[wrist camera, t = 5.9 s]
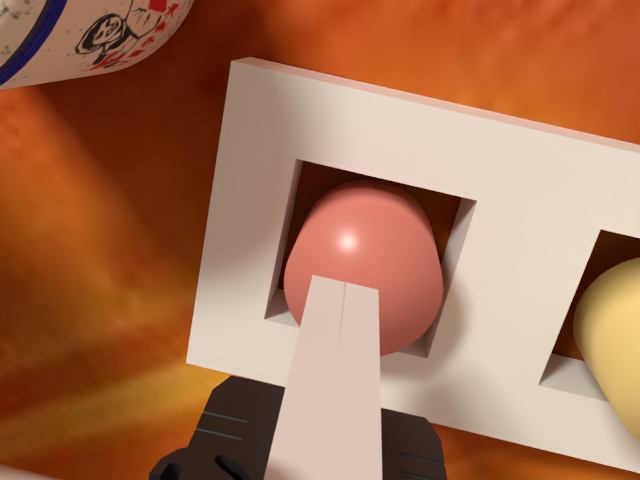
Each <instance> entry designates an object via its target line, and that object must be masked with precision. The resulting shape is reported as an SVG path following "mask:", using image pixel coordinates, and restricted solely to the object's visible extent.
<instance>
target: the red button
mask: <svg viewBox="0 0 640 480" xmlns="http://www.w3.org/2000/svg"><path fill="white" fill-rule="evenodd" d="M312 275H316V276H320V277H325V278H329V279H334V280H338V281H342V282H347V283H351V284H356V285H360V286H364V287H369V288H373V289H378V294H379V343H380V356H384V355H388V354H391V353H395V352H397V351H399V350H402V349H404V348H405V347H407V346H409V345H411V344H412V343H413V342H415V341H416V340H417V339H419V338H420V337H421V336H422V335H423V334H424V333H425V332H426V331H427V329H428V328H429V327H430V325H431V324H432V323H433V321H434V319H435V317H436V315H437V313H438V310H439V308H440V305H441V301H442V295H443V277H442V272H441V267H440V263H439V258H438V254H437V249H436V245H435V240H434V236H433V231H432V227H431V224H430V221H429V218H428V217H427V215H426V213H425V211H424V209H423V208H422V207H421V205H420V204H419V203H418V202H417V201H416V200H415V199H414V198H413V197H412V196H411V195H410V194H409V193H407V192H406V191H404V190H403V189H401V188H399V187H397V186H395V185H393V184H390V183H387V182H383V181H378V180H355V181H350V182H346V183H344V184H341V185H338V186H336V187H334V188H333V189H331V190H329V191H328V192H326V193H325V194H324V195H323V196H322V197H320V198H319V199H318V200H317V202H316V203H315V204H314V205H313V206H312V208H311V210H310V211H309V213H308V215H307V217H306V219H305V222H304V224H303V226H302V229H301V231H300V233H299V236H298V238H297V240H296V243H295V245H294V247H293V250H292V252H291V254H290V257H289V259H288V262H287V265H286V269H285V275H284V291H285V298H286V301H287V304H288V307H289V310H290V312H291V314H292V316H293V318H294V319H295V321H296V323H297V324H298V325H299V326H300V325H301V321H302V317H303V313H304V309H305V305H306V300H307V296H308V292H309V288H310V284H311V280H312Z"/></svg>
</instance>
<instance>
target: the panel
mask: <svg viewBox="0 0 640 480" xmlns="http://www.w3.org/2000/svg"><path fill="white" fill-rule="evenodd" d="M303 160H304V161H308V162H312V163H317V164H321V165H325V166H330V167H334V168H338V169H342V170H347V171H351V172H355V173H360V174H364V175H368V176H373V177H377V178H381V179H386V180H390V181H394V182H399V183H403V184H407V185H412V186H416V187H420V188H425V189H429V190H433V191H437V192H442V193H446V194H450V195H455V196H459V197H461V200H460V204H459V207H458V210H457V214H456V217H455V220H454V223H453V227H452V230H451V233H450V236H449V240H448V243H447V246H446V249H445V253H444V256H443V259H442V263H441V266H440V267H441V272H442V277H443V295H442V301H441V305H440V308H439V310H438V313H437V315H436V317H435V319H434V321H433V323H432V324H431V325H430V327H429V328H428V329H427V331H426V332H425V333H424V334H423V335H422V336H421V337H420V338H419V339H417V340H416V341H415V342H413V343H412V344H411V345H409V346H407V347H405V348H404V349H402V350H399V351H397V352H395V353H391V354H388V355H384V356H380V392H381V408H385V409H389V410H394V411H398V412H403V413H407V414H411V415H416V416H420V417H424V418H426V419H427V420H428V421H429V422H431V423H435V424H439V425H443V426H448V427H452V428H456V429H460V430H464V431H468V432H472V433H476V434H480V435H485V436H489V437H493V438H497V439H501V440H505V441H509V442H513V443H518V444H522V445H526V446H530V447H534V448H538V449H542V450H546V451H550V452H555V453H559V454H563V455H567V456H571V457H575V458H579V459H583V460H588V461H592V462H596V463H600V464H604V465H608V466H612V467H616V468H620V469H625V470H629V471H633V472H637V473H640V441H638V440H637V439H636V438H635V437H633V436H632V435H631V434H630V433H629V432H628V431H627V429H626V428H625V427H624V425H623V424H622V422H621V421H620V419H619V418H618V416H617V414H616V413H615V411H614V409H613V408H612V406H611V404H610V402H609V401H608V399H607V397H606V396H605V394H604V392H603V391H602V389H601V387H600V386H599V384H598V382H597V381H596V379H595V377H594V376H593V374H592V372H591V370H590V369H589V367H588V365H587V364H586V362H585V361H582V360H578V359H573V358H569V357H565V356H561V355H557V354H552V353H551V352H552V349H553V347H554V344H555V342H556V339H557V337H558V334H559V332H560V329H561V327H562V324H563V322H564V319H565V317H566V314H567V312H568V309H569V307H570V304H571V302H572V299H573V297H574V294H575V292H576V289H577V287H578V284H579V282H580V279H581V277H582V274H583V272H584V269H585V267H586V264H587V262H588V259H589V257H590V254H591V252H592V249H593V247H594V244H595V242H596V239H597V237H598V235H599V232H600V230H601V229H602V230H606V231H610V232H615V233H619V234H623V235H628V236H632V237H636V238H640V145H637V144H633V143H628V142H624V141H619V140H615V139H611V138H606V137H602V136H597V135H593V134H589V133H584V132H580V131H575V130H571V129H567V128H562V127H558V126H553V125H549V124H545V123H540V122H536V121H531V120H527V119H523V118H518V117H514V116H509V115H505V114H501V113H496V112H492V111H487V110H483V109H479V108H474V107H470V106H465V105H461V104H456V103H452V102H448V101H443V100H439V99H434V98H430V97H426V96H421V95H417V94H412V93H408V92H404V91H399V90H395V89H390V88H386V87H382V86H377V85H373V84H368V83H364V82H360V81H355V80H351V79H346V78H342V77H338V76H333V75H329V74H324V73H320V72H316V71H311V70H307V69H302V68H298V67H293V66H289V65H285V64H280V63H276V62H271V61H267V60H263V59H258V58H254V57H247V58H242V59H237V60H233V61H231V66H230V73H229V80H228V86H227V93H226V100H225V106H224V113H223V120H222V126H221V133H220V140H219V146H218V153H217V160H216V166H215V173H214V180H213V186H212V193H211V200H210V206H209V213H208V220H207V226H206V233H205V240H204V246H203V253H202V260H201V266H200V273H199V280H198V286H197V293H196V299H195V306H194V313H193V319H192V326H191V333H190V339H189V346H188V353H187V359H186V363H188V364H192V365H197V366H201V367H205V368H209V369H213V370H217V371H221V372H225V373H229V374H234V375H238V376H242V377H246V378H250V379H254V380H258V381H262V382H266V383H271V384H275V385H279V386H283V387H286V384H287V380H288V376H289V371H290V367H291V363H292V359H293V355H294V350H295V346H296V342H297V338H298V334H299V330H300V326H299V325H298V324H297V323H296V321H295V319H294V318H293V316H292V314H291V312H290V310H289V307H288V304H287V301H286V298H285V291H284V289H279V288H277V287H278V282H279V277H280V272H281V267H282V262H283V257H284V252H285V247H286V242H287V238H288V233H289V228H290V223H291V218H292V213H293V208H294V203H295V198H296V193H297V188H298V183H299V178H300V173H301V169H302V164H303Z"/></svg>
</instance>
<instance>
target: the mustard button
mask: <svg viewBox="0 0 640 480" xmlns="http://www.w3.org/2000/svg"><path fill="white" fill-rule="evenodd" d="M573 335H574V339H575V343H576V346H577V348H578V350H579V352H580V354H581V355H582V357H583V359H584V360H585V362H586V364H587V365H588V367H589V369H590V370H591V372H592V374H593V376H594V377H595V379H596V381H597V382H598V384H599V386H600V387H601V389H602V391H603V392H604V394H605V396H606V397H607V399H608V401H609V402H610V404H611V406H612V408H613V409H614V411H615V413H616V414H617V416H618V418H619V419H620V421H621V422H622V424H623V425H624V427H625V428H626V429H627V431H628V432H629V433H630V434H631V435H632V436H633V437H635V438H636V439H637V440H638V441H640V258H635V259H631V260H628V261H625V262H623V263H620V264H618V265H616V266H614V267H612V268H610V269H609V270H607V271H605V272H604V273H603V274H601V275H600V276H599V277H598V278H596V279H595V280H594V281H593V282H592V283H591V284H590V286H589V287H588V288H587V289H586V290H585V292H584V293H583V295H582V296H581V298H580V300H579V302H578V304H577V307H576V310H575V313H574V318H573Z"/></svg>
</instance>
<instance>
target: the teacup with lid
mask: <svg viewBox="0 0 640 480" xmlns="http://www.w3.org/2000/svg"><path fill="white" fill-rule="evenodd" d="M193 2H194V0H0V90H4V89H11V88H17V87H23V86H29V85H36V84H42V83H48V82H55V81H61V80H67V79H73V78H80V77H86V76H92V75H99V74H105V73H110V72H114V71H118V70H121V69H124V68H126V67H129V66H131V65H133V64H135V63H137V62H139V61H141V60H143V59H145V58H146V57H148V56H149V55H151V54H152V53H154V52H155V51H156V50H157V49H159V48H160V47H161V46H162V45H163V44H164V43H165V42H166V41H167V40H168V39H169V38H170V37H171V36H172V35H173V34H174V33H175V31H176V30H177V29H178V28H179V26H180V25H181V23H182V22H183V20H184V19H185V17H186V16H187V14H188V12H189V10H190V8H191V6H192V4H193Z"/></svg>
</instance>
